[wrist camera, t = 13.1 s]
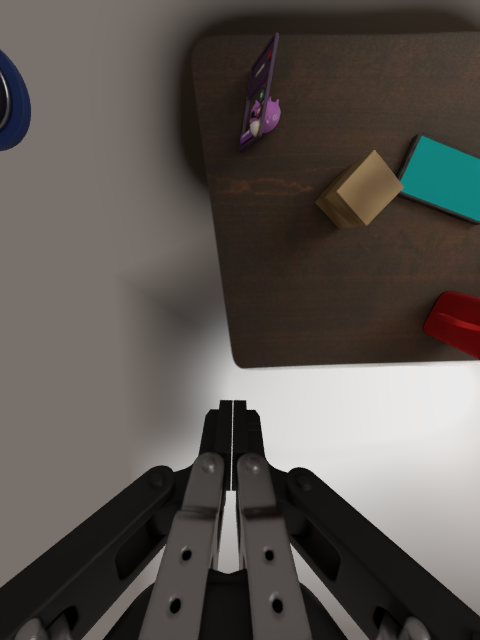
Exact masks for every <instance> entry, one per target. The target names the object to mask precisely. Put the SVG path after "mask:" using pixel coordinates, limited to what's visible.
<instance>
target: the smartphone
mask: <svg viewBox="0 0 480 640" xmlns="http://www.w3.org/2000/svg"><path fill="white" fill-rule="evenodd" d="M396 177H397V179H398V180H399V181H400V183H401V184H402V185H403V186H404V188H403V189H402V190H401V191H400V192H399V193H398V194H397V195H399V196H402V197H405V198H407V199H410V200H412V201H415V202H418V203H420V204H423V205H426V206H428V207H431V208H434V209H436V210H438V211H441V212H444V213H447V214H449V215H451V216H454V217H457V218H459V219H462V220H464V221H468V222H471V223H473V224H476V225H478V224H480V157H479V156H477V155H475V154H472V153H470V152H467V151H465V150H462V149H460V148H458V147H455V146H453V145H450V144H448V143H446V142H443V141H441V140H438V139H436V138H433V137H431V136H429V135H426V134H424V133H419V134H418V135H416V136H415V137H414V139H413V141H412V143H411V145H410V148H409V150H408V152H407V154H406V156H405V159H404V161H403V163H402V165H401V167H400V170H399V172H398V174H397V176H396Z"/></svg>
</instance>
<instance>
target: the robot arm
mask: <svg viewBox="0 0 480 640" xmlns="http://www.w3.org/2000/svg"><path fill="white" fill-rule="evenodd" d="M12 110H13V100H12V93H11V89H10V86H9V83H8V81H7V78H6V76H5V75H4V73H3V71H2V69H1V68H0V132H1V131H3V130H4V129H5V128H6V126H7V125H8V123H9V121H10V119H11V115H12ZM232 402H233V401H232V400H220V405H219V409H217V410H216V409H210V411H209V412H208V413H207V415H206V417H205V422H204V427H203V433H202V439H201V444H200V450H199V455H198V457H197V458H196V460H195V461H194V463H193V464H192V465H191V466H189V467H188V468H186V469H183V470H179V471H176V472H173V471H172V469H171V468H169V467H167V466H156V467H153V468H151V469H149V470H148V471H147V472H146V473H144V474H143V475H142V476H140V477H139V478H138V479H137V480H135V481H134V482H133V483H132V484H130V485H129V486H128V487H127V488H125V489H124V490H123V491H122V492H120V493H119V494H118V495H117V496H115V497H114V498H113V499H112V500H110V501H109V502H108V503H106V504H105V505H104V506H103V507H101V508H100V509H99V510H98V511H96V512H95V513H94V514H93V515H92V516H90V517H89V518H88V519H86V520H85V521H84V522H83V523H81V524H80V525H79V526H78V527H76V528H75V529H74V530H73V531H71V532H70V533H69V534H68V535H66V536H65V537H64V538H62V539H61V540H60V541H59V542H57V543H56V544H55V545H54V546H52V547H51V548H50V549H49V550H47V551H46V552H45V553H44V554H42V555H41V556H40V557H39V558H37V559H36V560H35V561H34V562H32V563H31V564H30V565H29V566H27V567H26V568H25V569H24V570H22V571H21V572H20V573H19V574H17V575H16V576H15V577H13V578H12V579H11V580H10V581H9V582H7V583H6V584H5V585H3V586H2V587H1V588H0V640H81V639H82V638H83V637H84V636H85V635H86V634H87V633H88V631H89V630H90V629H91V628H92V627H93V626H94V625H95V624H96V622H97V621H98V620H99V619H100V618H101V617H102V616H103V614H104V613H105V612H106V611H107V610H108V609H109V608H110V607H111V605H112V604H113V603H114V602H115V601H116V600H117V599H118V598H119V596H120V595H121V594H122V593H123V592H124V591H125V590H126V589H127V587H128V586H129V585H130V584H131V583H132V582H133V581H134V580H135V578H136V577H137V576H138V575H139V574H140V573H141V571H142V570H143V569H144V568H145V567H146V566H147V565H148V563H149V562H150V561H151V560H152V559H153V558H154V557H155V556H156V554H158V552H159V551H160V550H161V549H162V548H163V546H165V544H166V547H165V550H164V553H163V557H162V560H161V564H160V567H159V571H158V574H157V577H156V581H155V582H154V583H153V584H151V585H150V586H149V587H148V588H146V589H145V590H144V591H143V592H142V593H141V594H140V595H139V596H138V597H137V598H136V599H135V600H134V601H133V602H132V604H131V605H130V606H129V607H128V609H127V610H126V611H125V612H124V613H123V615H122V616H121V617H120V619H119V620H118V621H117V622H116V624H115V625H114V626H113V627H112V629H111V630H110V631H109V632H108V634H107V635H106V636H105V637H104V639H103V640H348V639H347V638H346V636H345V635H344V633H343V632H342V631H341V629H340V628H339V627H338V625H337V624H336V623H335V621H334V620H333V618H332V617H331V616H330V614H329V613H328V612H327V610H326V609H325V608H324V606H323V605H322V603H321V602H320V601H319V600H318V598H317V597H316V596H315V595H314V594H313V593H312V592H311V591H310V590H309V589H308V588H307V587H306V586H304V585H303V584H302V583H300V582H299V580H298V576H297V572H296V567H295V564H294V559H293V555H292V551H291V546H290V543H291V544H292V546H293V547H294V548H295V549H296V550H297V552H298V553H299V554H300V555H301V557H302V558H303V559H304V560H305V562H306V563H307V564H308V565H309V566H310V568H311V569H312V570H313V571H314V572H315V574H316V575H317V576H318V577H319V578H320V580H321V581H322V582H323V583H324V585H325V586H326V587H327V588H328V590H329V591H330V592H331V593H332V594H333V595H334V597H335V598H336V599H337V600H338V602H339V603H340V604H341V605H342V606H343V608H344V609H345V610H346V611H347V613H348V614H349V615H350V616H351V617H352V619H353V620H354V621H355V622H356V623H357V625H358V626H359V627H360V628H361V630H362V631H363V632H364V633H365V635H366V636H367V637H368V638H369V639H370V640H480V616H479V615H477V614H476V613H475V612H474V611H473V610H472V609H471V608H469V607H468V606H467V605H466V604H465V603H464V602H462V601H461V600H460V599H459V598H458V597H457V596H455V595H454V594H453V593H452V592H451V591H450V590H448V589H447V588H446V587H445V586H444V585H443V584H441V583H440V582H439V581H438V580H437V579H436V578H434V577H433V576H432V575H431V574H430V573H429V572H428V571H426V570H425V569H424V568H423V567H422V566H421V565H419V564H418V563H417V562H416V561H415V560H414V559H413V558H411V557H410V556H409V555H408V554H407V553H405V552H404V551H403V550H402V549H401V548H400V547H399V546H397V545H396V544H395V543H394V542H393V541H392V540H390V539H389V538H388V537H387V536H386V535H385V534H383V533H382V532H381V531H380V530H379V529H378V528H377V527H375V526H374V525H373V524H372V523H371V522H370V521H368V520H367V519H366V518H365V517H364V516H362V515H361V514H360V513H359V512H358V511H357V510H356V509H354V508H353V507H352V506H351V505H350V504H349V503H348V502H346V501H345V500H344V499H343V498H342V497H340V496H339V495H338V494H337V493H336V492H335V491H334V490H332V489H331V488H330V487H329V486H328V485H327V484H326V483H324V482H323V481H322V480H321V479H320V478H318V477H317V476H316V475H315V474H314V473H313V472H311V471H310V470H308V469H305V468H301V467H297V468H293V469H292V470H290V471H289V472H288V473H287V472H283V471H281V470H278V469H276V468H274V467H273V466H271V465H270V464H269V463H268V461H267V460H266V458H265V453H264V446H263V438H262V431H261V422H260V416H259V415H258V413H257V412H256V410H247V409H246V400H234V408H233V457H232V458H233V459H232V490H233V491H236V522H237V536H238V552H239V571H236V572H233V573H230V574H226V573H223V572H220V571H217V568H218V557H219V548H220V540H221V530H222V523H223V514H224V506H225V501H226V491H230V482H231V446H232Z"/></svg>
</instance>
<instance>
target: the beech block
mask: <svg viewBox="0 0 480 640" xmlns="http://www.w3.org/2000/svg"><path fill="white" fill-rule="evenodd" d="M403 188H404V186H403V185H402V184H401V183H400V181H399V180H398V179H397V177H396V176H395V175H394V174H393V172H392V171H391V170H390V169H389V167H388V166H387V165H386V163H385V162H384V161H383V160H382V158H381V157H380V156H379V155H378V153H377V152H376V151H375V150H373V151H372V152H370V153H369V154H367V155H366V156H364V157H363V158H361V159H360V160H358V161H357V162H355V163H354V164H352V165H351V166H349V167H347V168H346V169H344V170H343V171H342V172H341V173H340V175H339V176H338V177H337V178H336V179H335V180H334V181H333V182H332V183H331V185H330V186H329V187H328V188H327V189H326V190H325V191H324V192H323V193H322V194H321V196H320V197H319V198H318V199H317V200H316V201H315V203H316V204H317V205H318V206H319V207H320V208H321V209H322V210H323V212H324V213H325V214H326V215H327V216H328V217H329V218H330V219H331V220H332V221H333V223H334V224H335V225H336V226H337V227H338V228H339V229H342V228H351V227H360V226H367V225H368V224H369V223H370V222H371V221H372V220H373V219H374V218H375V217H376V216H377V215H378V214H379V213H380V212H381V211H382V210H383V209H384V208H385V207H386V206H387V204H388V203H389V202H390V201H391V200H392V199H393V198H394V197H395V196H396V195H397V194H398V193H399V192H400V191H401V190H402V189H403Z"/></svg>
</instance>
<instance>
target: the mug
mask: <svg viewBox="0 0 480 640" xmlns="http://www.w3.org/2000/svg"><path fill="white" fill-rule="evenodd" d="M423 329H424V332H425V333H427V334H428V335H431V336H433V337H435V338H437V339H439V340H441V341H443V342H445V343H447V344H449V345H451V346H453V347H455V348H457V349H459V350H461V351H463V352H465V353H467V354H469V355H471V356H473V357H475V358H477V359H479V360H480V298H478V297H474V296H470V295H466V294H461V293H457V292H453V291H447V292H445V293H443V294H442V295H441V296H440V297H439V298H438V300H437V302H436V304H435V305H434V307H433V309H432V311H431V313H430V315H429V316H428V318H427V320H426V322H425V324H424V327H423Z"/></svg>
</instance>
